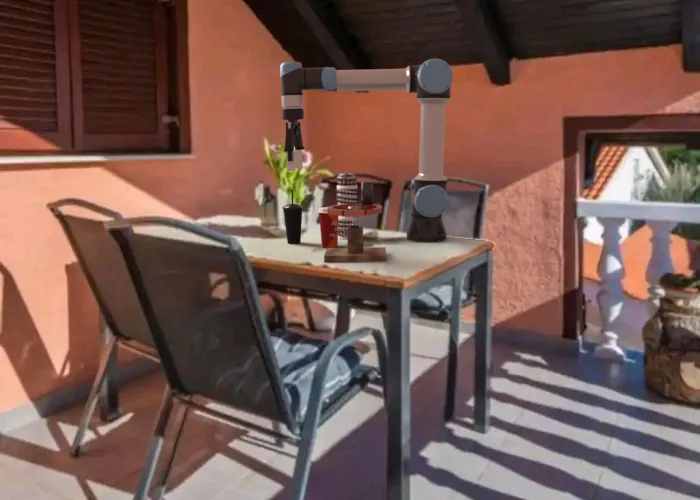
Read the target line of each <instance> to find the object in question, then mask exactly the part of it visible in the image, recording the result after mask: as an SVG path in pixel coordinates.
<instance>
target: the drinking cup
mask: <svg viewBox="0 0 700 500" xmlns="http://www.w3.org/2000/svg"><path fill="white" fill-rule="evenodd" d="M290 194H291V197H290V198H291V199H290V200H291V201H290V202H291V203H288V204H286V205H283V206H282V207H281V208H282V210H283V217H284V226H285V233H286V241H287V244H289V245H298V244H301V242H302V241H301V239H302V237H301V236H302V223H303V222H302V220H303V209H304V206H303V205H300V204H298V203H294V189H290Z"/></svg>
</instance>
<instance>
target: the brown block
mask: <svg viewBox="0 0 700 500" xmlns="http://www.w3.org/2000/svg"><path fill="white" fill-rule="evenodd" d="M347 235H348V240H347V247H334V248H325V253H324V257H323V262H324V263H351V262H352V263H355V262H356V263H363V262H364V263H365V262H367V263H368V262H370V263H371V262H387V249H386V247H385V246H379V247H376V246H375V247H364V227H363V226H360V225H359V226H358V228H353V227H348V229H347Z"/></svg>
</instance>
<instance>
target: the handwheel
mask: <svg viewBox="0 0 700 500" xmlns="http://www.w3.org/2000/svg"><path fill="white" fill-rule="evenodd" d="M360 194H361V195H360V197H361V198H360V199H361V200H360V203H359V204H342V205H336V204H334V205H328V206H327V207H328V209H327V214H332V215H340V216H352V220H351V221H352V226H353V228H358V225H359V226H360V223H359V222H360V219H359V216H371V215H372V216H373V215H378V214H382V213H383V205H380V204H375V203H374V181H360ZM358 221H359V222H358Z"/></svg>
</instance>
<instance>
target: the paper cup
mask: <svg viewBox="0 0 700 500" xmlns="http://www.w3.org/2000/svg"><path fill="white" fill-rule="evenodd" d="M328 207H329V206H326V207H319V208H318V215H319V217H318V218H319V227H320V228H319V229H320V237H321V246H322V248H325V249H327V248H338V245H339V243H338V242H339V241H338V240H339V239H338V217H339V215H332V214H327V209H328Z"/></svg>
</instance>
